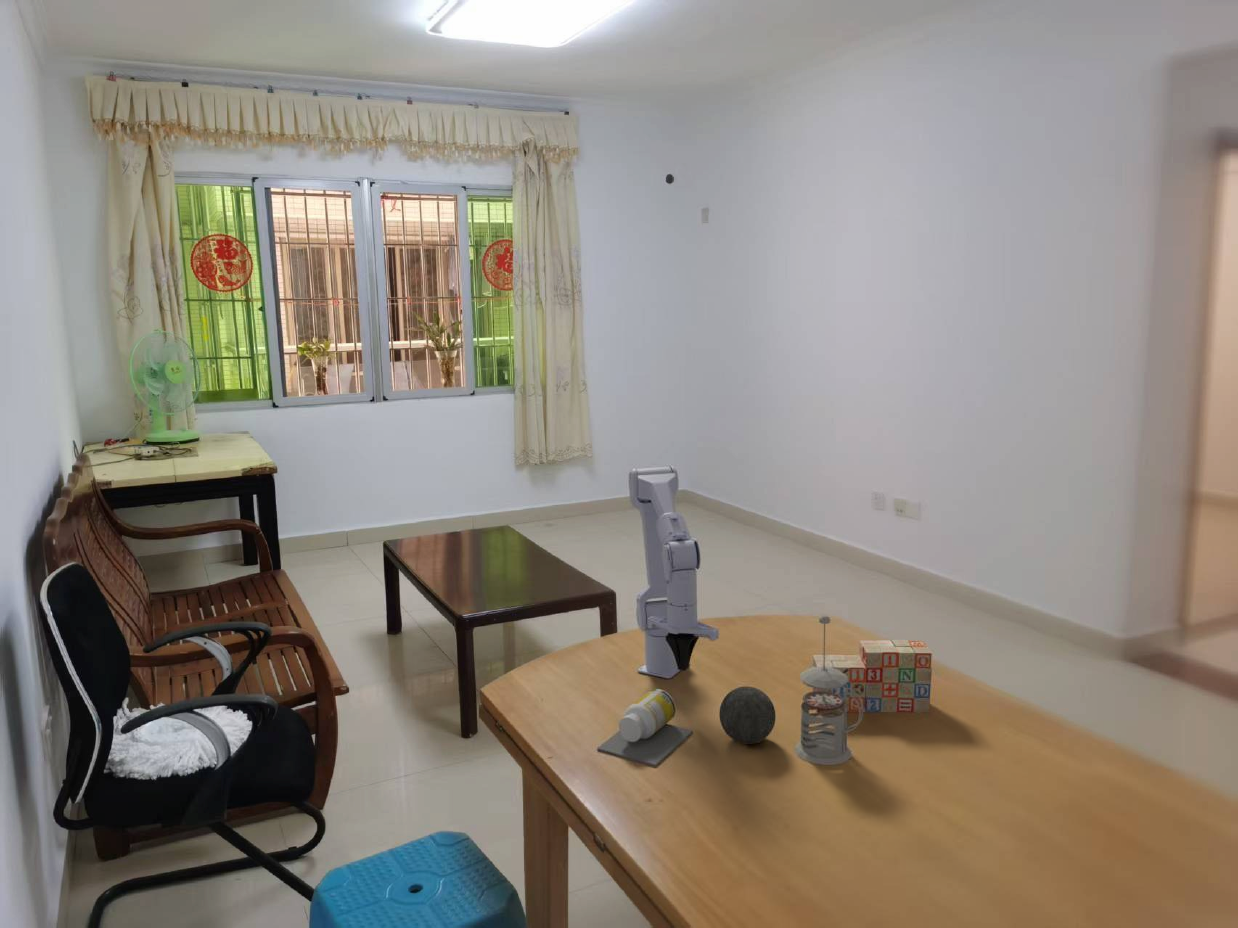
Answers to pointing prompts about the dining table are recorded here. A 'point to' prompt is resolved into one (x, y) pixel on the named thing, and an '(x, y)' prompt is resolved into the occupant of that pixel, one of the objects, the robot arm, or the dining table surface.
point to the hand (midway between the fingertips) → (683, 668)
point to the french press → (829, 742)
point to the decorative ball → (747, 715)
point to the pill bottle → (647, 715)
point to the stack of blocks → (884, 676)
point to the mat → (647, 745)
